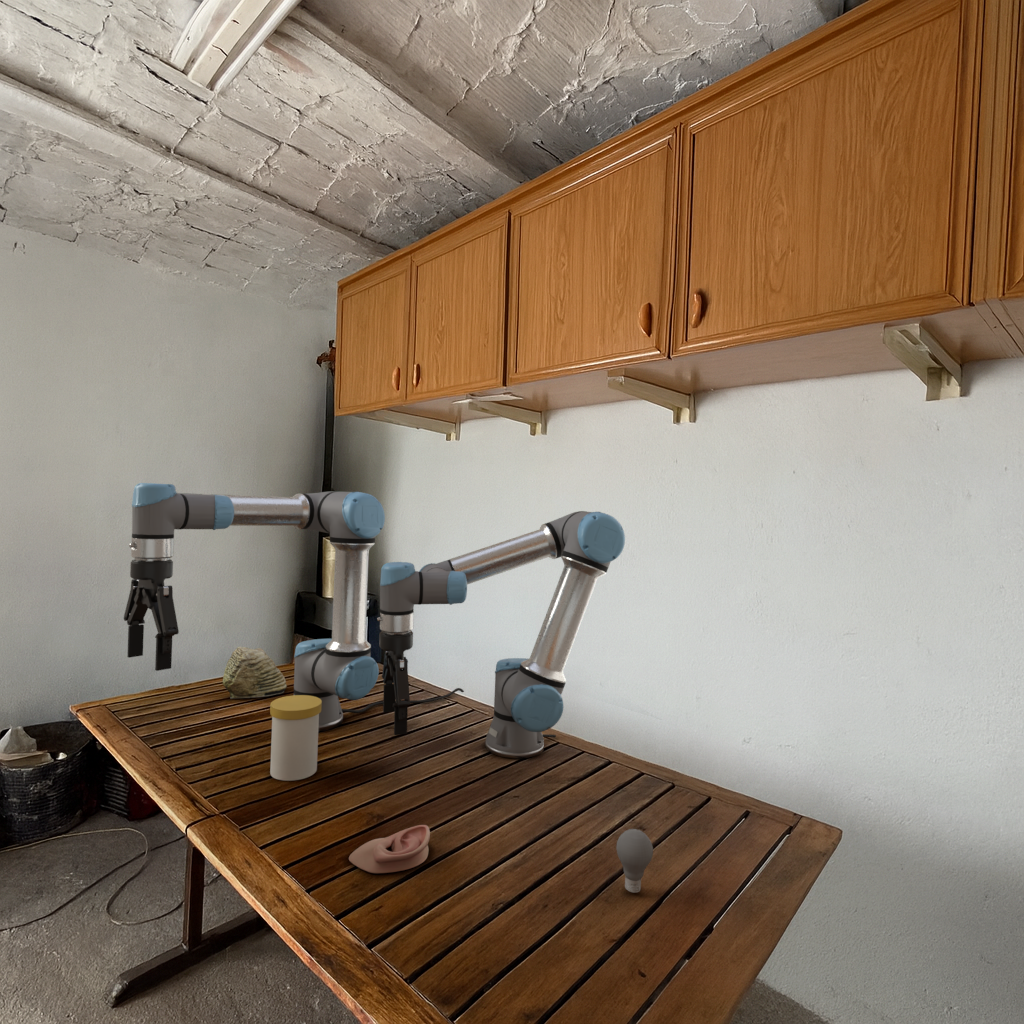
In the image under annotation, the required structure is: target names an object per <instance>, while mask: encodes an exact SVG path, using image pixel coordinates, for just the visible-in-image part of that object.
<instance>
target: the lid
mask: <svg viewBox="0 0 1024 1024" xmlns="http://www.w3.org/2000/svg"><path fill="white" fill-rule="evenodd" d="M321 707H322V701H321V699H320V698H318V697H314V696H309V695H294V694H293V695H286V696H282V697H279V698H276V699H274V700H272V701H271V702H270V707H269V710H270V711H269V714H270V716H271V717H272V716H273V717H275V718H278V719H284V720H298V719H305V718H310V717H313V716H315V715H317V714H319V713H320V712H321Z"/></svg>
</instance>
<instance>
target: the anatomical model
mask: <svg viewBox="0 0 1024 1024" xmlns="http://www.w3.org/2000/svg"><path fill="white" fill-rule="evenodd" d="M430 838H431V830H430V827H429V826H428V825H427V824H419V825H413V826H411V827H409V828H405V829H403V830H400V831H398V832H396V833H393V834H391V835H389V836H386V837H379V838H375V839H372V840H369V841H367V842H365V843H364V844H362V845H360V846H358V848H356V849H355V850H353V852H352V853H350V855H349V857H348V860H349V862H350V863H351V864H352V865H354V866H356V867H357V868H358V869H361V870H363V871H365V872H367V873H369V874H370V873H371V874H387V873H388V874H389V873H396V872H401V871H405V870H409V869H412V868H415V867H418V866H419V865H421V864H422V863H425V861H426V860H427V859H428V856H429V842H430Z"/></svg>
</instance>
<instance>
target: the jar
mask: <svg viewBox="0 0 1024 1024" xmlns="http://www.w3.org/2000/svg"><path fill="white" fill-rule="evenodd" d="M318 727H319V714H317V715H315V716H313V717H310V718H305V719H298V720H284V719H278V718H275V717H273V716H271V741H270V742H271V743H270V765H269V766H270V767H269V768H270V769H269V770H270V771H269V773H270V774H269V775H270V776H271V777H272V778H273V779H275V780H279V781H284V782H285V781H287V782H289V781H290V782H291V781H300V780H304V779H307V778H309V777H311V776H313V775H314V774H315V773H316V772H317V771H318V750H319V731H318Z"/></svg>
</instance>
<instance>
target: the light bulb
mask: <svg viewBox="0 0 1024 1024" xmlns="http://www.w3.org/2000/svg"><path fill="white" fill-rule="evenodd" d="M615 849H616V854H617V857H618V859H619V861H620V863H621V865H622V867H623V873H624V874H623V875H624V876H625V878H624V888H625V890H627V891H628V892H630V893H634V894H635V893H639V892H640V891H641V889H642V887H641V886H642V879H643V877H644V875H645V871H646V868H647V867H648V866H649V864H650V863H651V861H652V859H653V855H654V847H653V843H652V841H651V838H649V836H648V835H647V834H646V833H645V832H643V831H642V830H641V829H636V828H629V829H627V830H625V831H623V832H622V833H621V834H620V835H619V837H618V839H617V841H616V847H615Z"/></svg>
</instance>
